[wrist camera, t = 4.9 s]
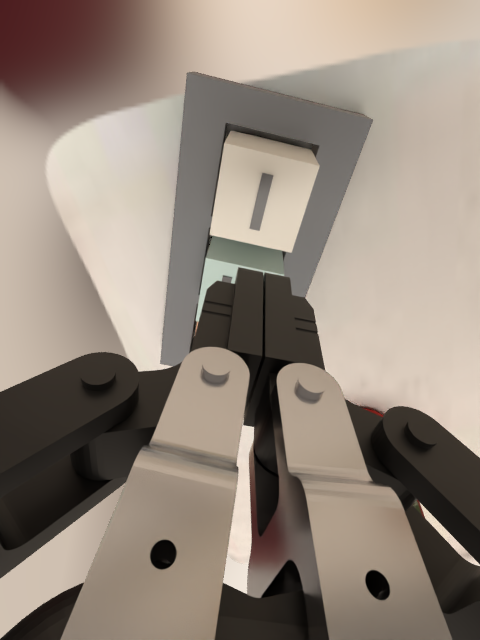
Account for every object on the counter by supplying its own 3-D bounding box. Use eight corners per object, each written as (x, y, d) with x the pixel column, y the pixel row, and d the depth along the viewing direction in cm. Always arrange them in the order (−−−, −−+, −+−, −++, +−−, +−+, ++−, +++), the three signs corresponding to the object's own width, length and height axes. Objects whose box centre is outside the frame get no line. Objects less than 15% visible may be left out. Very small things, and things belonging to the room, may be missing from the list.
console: (363, 114, 18) (373, 119, 17) (271, 367, 29) (271, 384, 28) (194, 71, 18) (187, 72, 16) (165, 347, 29) (160, 363, 27)
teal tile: (282, 246, 21) (284, 275, 18) (265, 302, 24) (264, 336, 21) (213, 231, 21) (205, 258, 18) (204, 289, 23) (195, 322, 20)
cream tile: (311, 149, 18) (319, 166, 15) (288, 226, 20) (291, 253, 17) (231, 129, 17) (224, 143, 15) (217, 210, 20) (209, 235, 17)
